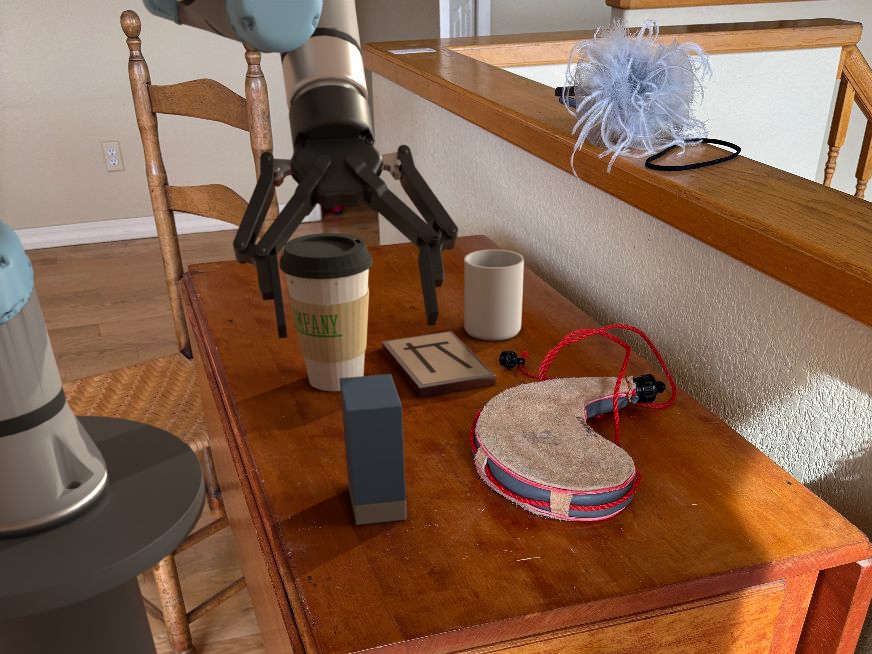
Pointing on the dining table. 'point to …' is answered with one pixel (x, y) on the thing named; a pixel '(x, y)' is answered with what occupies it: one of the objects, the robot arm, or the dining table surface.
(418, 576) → the dining table surface
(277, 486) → the dining table surface
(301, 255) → the coffee cup
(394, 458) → the eraser
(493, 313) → the cup
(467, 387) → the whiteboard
